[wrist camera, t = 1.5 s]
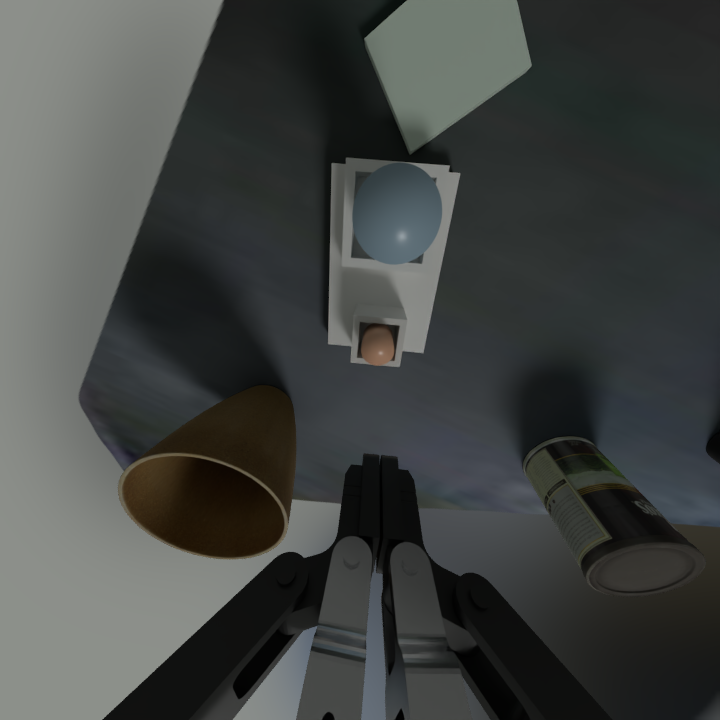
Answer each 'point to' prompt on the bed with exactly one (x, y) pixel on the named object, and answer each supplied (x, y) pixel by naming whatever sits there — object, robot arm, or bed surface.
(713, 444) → the travel mug
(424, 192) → the blue-grey elongated rounded piece
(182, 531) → the plant pot
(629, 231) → the bed surface
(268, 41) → the bed surface
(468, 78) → the mat
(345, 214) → the housing
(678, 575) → the coffee can
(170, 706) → the robot arm
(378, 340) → the plunger
